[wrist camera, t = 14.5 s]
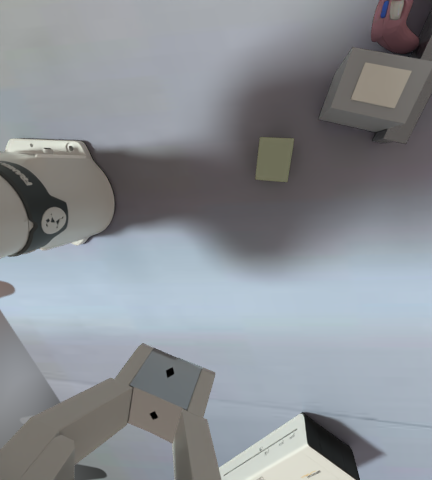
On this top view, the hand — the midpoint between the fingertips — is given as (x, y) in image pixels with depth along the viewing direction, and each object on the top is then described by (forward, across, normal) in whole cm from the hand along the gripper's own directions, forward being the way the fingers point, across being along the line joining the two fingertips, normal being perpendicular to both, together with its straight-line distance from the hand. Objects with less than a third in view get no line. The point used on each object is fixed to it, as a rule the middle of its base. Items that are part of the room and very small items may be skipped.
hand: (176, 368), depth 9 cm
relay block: (+29, +1, +8) cm, 30 cm away
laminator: (+30, +21, -53) cm, 64 cm away
